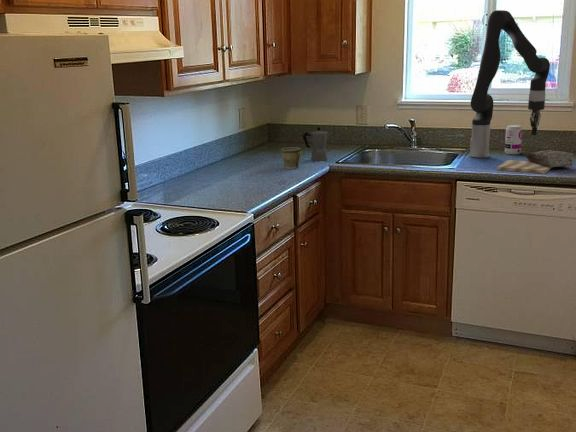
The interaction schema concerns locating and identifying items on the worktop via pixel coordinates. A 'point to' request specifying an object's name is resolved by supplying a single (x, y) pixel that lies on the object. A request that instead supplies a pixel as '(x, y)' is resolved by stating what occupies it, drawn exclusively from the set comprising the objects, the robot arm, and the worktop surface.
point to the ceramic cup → (291, 157)
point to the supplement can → (513, 139)
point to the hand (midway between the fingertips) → (534, 134)
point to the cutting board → (523, 167)
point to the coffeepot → (317, 144)
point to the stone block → (550, 158)
